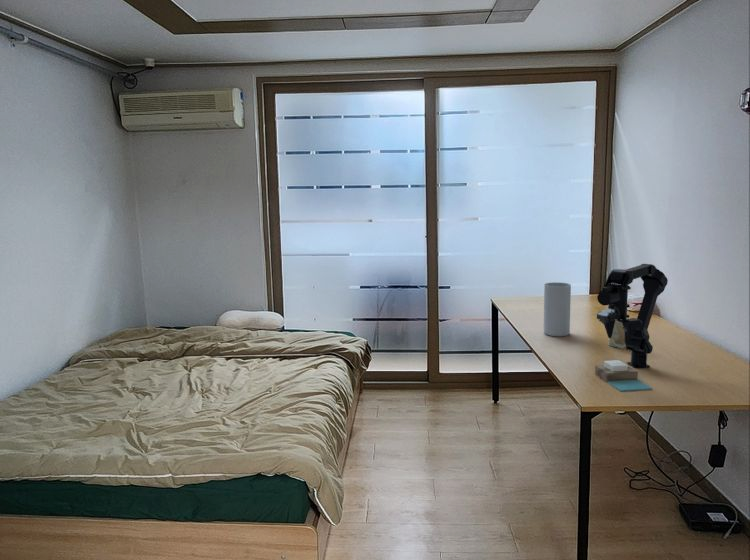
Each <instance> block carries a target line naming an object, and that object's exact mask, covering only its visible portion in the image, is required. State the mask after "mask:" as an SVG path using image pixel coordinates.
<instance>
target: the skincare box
mask: <svg viewBox="0 0 750 560" xmlns="http://www.w3.org/2000/svg"><path fill="white" fill-rule="evenodd" d="M622 327H624V326H623V324H622V323H621V322H618V321H615V324H614V329H613V333H612V337H611V338H609V347H614V348H618V349H623V348H626V344H625V331H624V329H623V328H622Z"/></svg>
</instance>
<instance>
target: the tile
mask: <svg viewBox="0 0 750 560" xmlns="http://www.w3.org/2000/svg"><path fill="white" fill-rule="evenodd" d="M603 365H604V366H605V367H606V368H608V369H610V370H611V371H627V370H628V366H629V364H628V365H627V364H626V363H624V362H623V361H621V360H619V359H617V360H615V359H614V360H603Z"/></svg>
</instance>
